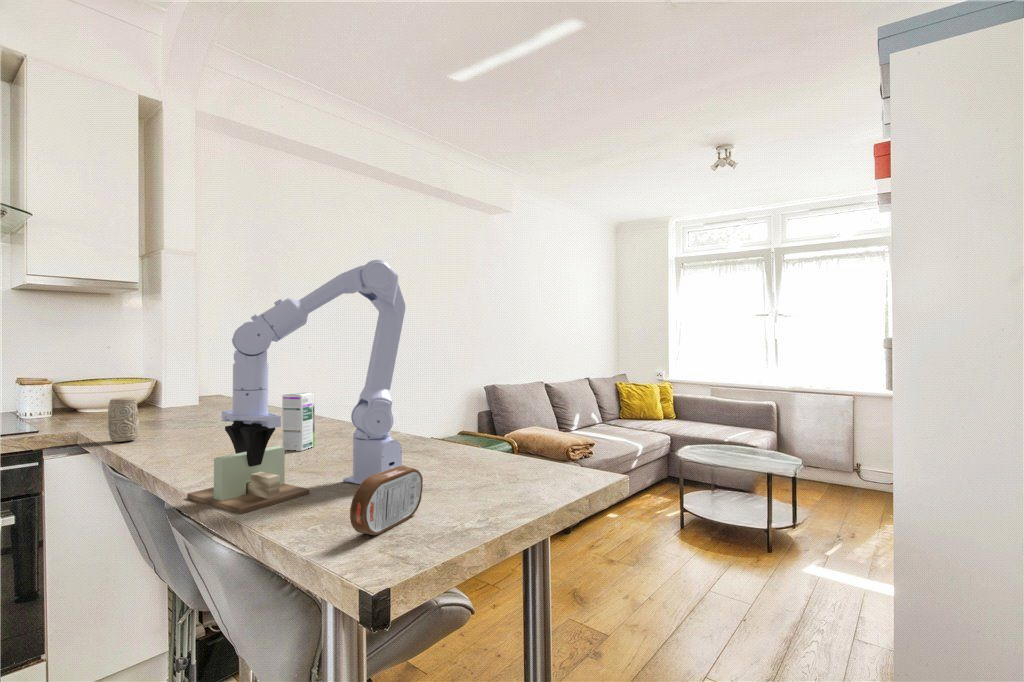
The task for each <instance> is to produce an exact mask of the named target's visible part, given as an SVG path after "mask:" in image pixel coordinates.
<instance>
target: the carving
mask: <svg viewBox="0 0 1024 682" xmlns="http://www.w3.org/2000/svg"><path fill="white" fill-rule="evenodd" d="M137 400H138V399H137V398H136V397H133V396H132V397H131V396H129V397H128V396H124V397H114V398H111V399H110V400H109V402H108V405H107V406H108V409H107V410H108V411H107V414H108V416H107V427H108V428H107V430H108V434H109V436H108V437H109V438H110V439H109V440H110V441H111V442H112V443H123V442H128V441H132V440H136V439H138V438H139V437H140V436H139V435H140V434H139V433H140V421H139V420H140V419H139V410H138V401H137Z"/></svg>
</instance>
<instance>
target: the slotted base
mask: <svg viewBox="0 0 1024 682" xmlns="http://www.w3.org/2000/svg"><path fill="white" fill-rule="evenodd" d="M279 484H280V476H279V475H275V474H270V473H265V472H258V473H254V474H251V482H248V483H246V495H242V496H238V497H235V498H231V499H227V500H224V501H220V500H217V499H214V486H213V487H210V488H206V489H202V490H201V489H200V490H196V491H193V492H188V493H186V496H187V499H189V500H193V501H196V502H199V503H202V504H207V505H210V506H213V507H216V508H220V509H223V510H227V511H231V512H234V513H237V514H240V515H243V514H246V513H250V512H254V511H256V510H260V509H262V508H266V507H270V506H272V505H275V504H279V503H283V502H285V501H289V500H292V499H293V500H294V499H295V498H298V497H299V498H300V497H302V496H303V497H304V496H305V495H308V494H309V495H310V491H311V490H310V488H307V487H301V486H298V485H293V484H289V483H285V482H284V484H282V485H279Z"/></svg>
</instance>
